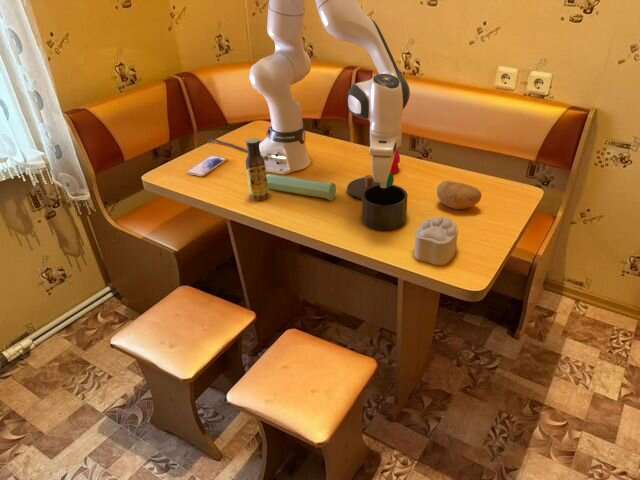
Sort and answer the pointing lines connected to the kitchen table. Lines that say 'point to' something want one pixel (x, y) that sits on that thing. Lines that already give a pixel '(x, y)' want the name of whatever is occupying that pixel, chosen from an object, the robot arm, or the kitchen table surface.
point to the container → (301, 186)
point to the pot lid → (360, 186)
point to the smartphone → (206, 166)
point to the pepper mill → (395, 163)
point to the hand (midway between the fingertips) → (385, 182)
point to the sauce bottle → (256, 171)
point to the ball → (389, 180)
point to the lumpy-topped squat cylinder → (436, 241)
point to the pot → (384, 207)
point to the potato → (458, 195)
